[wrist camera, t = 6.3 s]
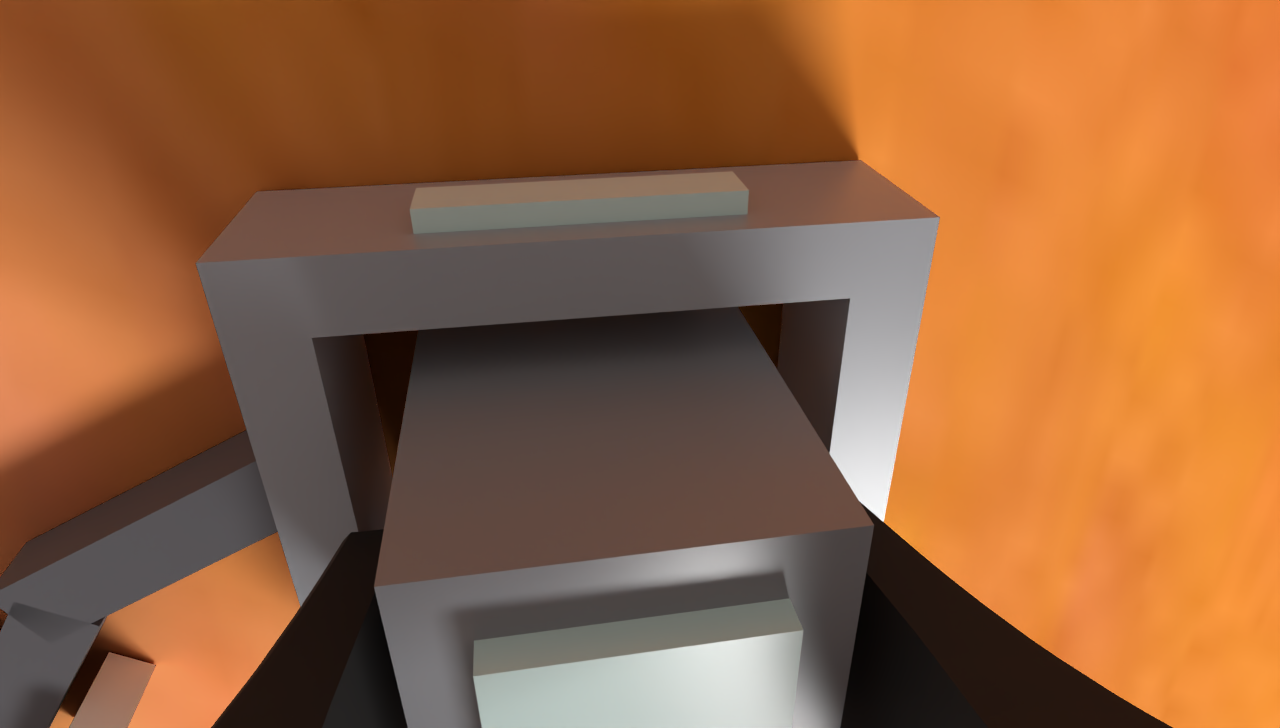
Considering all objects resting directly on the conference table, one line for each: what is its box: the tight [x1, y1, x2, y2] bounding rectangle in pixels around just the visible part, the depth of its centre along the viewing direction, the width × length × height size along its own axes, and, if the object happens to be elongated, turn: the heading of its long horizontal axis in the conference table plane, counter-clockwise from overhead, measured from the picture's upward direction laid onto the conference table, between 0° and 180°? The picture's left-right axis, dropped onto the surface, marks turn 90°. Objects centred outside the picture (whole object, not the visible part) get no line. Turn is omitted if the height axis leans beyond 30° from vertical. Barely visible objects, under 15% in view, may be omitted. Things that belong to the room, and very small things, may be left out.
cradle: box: [196, 160, 940, 606], centre depth 12 cm, size 8×9×2 cm
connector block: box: [374, 307, 874, 728], centre depth 11 cm, size 4×6×6 cm
